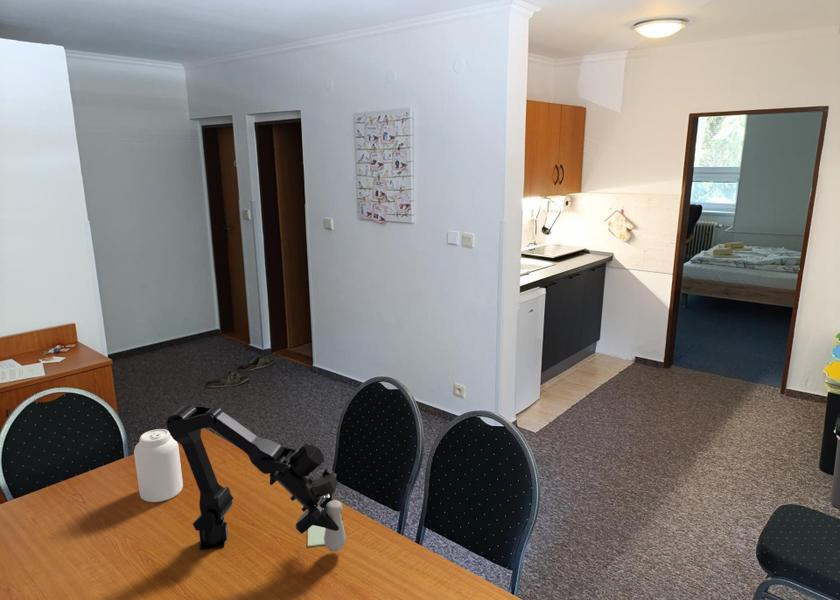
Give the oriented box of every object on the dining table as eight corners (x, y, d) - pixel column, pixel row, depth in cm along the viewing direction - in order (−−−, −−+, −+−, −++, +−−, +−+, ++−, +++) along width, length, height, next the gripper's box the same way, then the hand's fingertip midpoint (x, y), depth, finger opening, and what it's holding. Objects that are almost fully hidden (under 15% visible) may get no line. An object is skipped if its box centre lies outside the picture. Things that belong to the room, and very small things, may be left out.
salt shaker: (341, 555, 149) (340, 511, 146) (321, 552, 150) (319, 508, 147) (349, 541, 155) (348, 498, 151) (328, 538, 156) (327, 495, 152)
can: (191, 488, 183) (185, 431, 178) (155, 508, 173) (147, 448, 168) (167, 477, 189) (160, 421, 184) (131, 495, 179) (123, 437, 174)
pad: (307, 546, 155) (307, 544, 155) (307, 522, 165) (307, 521, 165) (341, 542, 157) (341, 541, 157) (339, 519, 167) (339, 517, 167)
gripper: (306, 486, 138) (351, 531, 140) (328, 448, 156) (368, 488, 157) (276, 512, 141) (321, 555, 142) (301, 472, 159) (341, 510, 160)
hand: (339, 525), depth 151 cm, fingers closed on salt shaker, 3 cm apart
